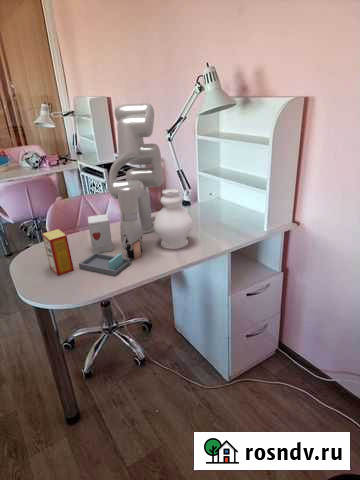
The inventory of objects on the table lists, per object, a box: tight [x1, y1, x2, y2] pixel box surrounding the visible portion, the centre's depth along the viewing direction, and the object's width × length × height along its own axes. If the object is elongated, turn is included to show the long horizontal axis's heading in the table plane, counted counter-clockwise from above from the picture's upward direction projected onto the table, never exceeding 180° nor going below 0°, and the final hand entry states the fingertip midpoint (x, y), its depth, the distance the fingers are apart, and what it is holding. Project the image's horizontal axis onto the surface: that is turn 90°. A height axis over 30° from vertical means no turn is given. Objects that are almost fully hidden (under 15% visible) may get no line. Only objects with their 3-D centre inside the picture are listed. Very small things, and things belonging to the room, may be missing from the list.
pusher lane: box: [78, 253, 131, 277], centre depth 138 cm, size 11×18×2 cm, turn 64°
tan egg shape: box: [128, 240, 143, 261], centre depth 144 cm, size 6×6×7 cm
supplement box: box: [87, 213, 114, 254], centre depth 152 cm, size 9×9×15 cm
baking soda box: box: [41, 228, 75, 277], centre depth 135 cm, size 10×6×16 cm
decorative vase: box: [153, 188, 194, 250], centre depth 150 cm, size 18×18×25 cm
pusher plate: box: [108, 252, 124, 270], centre depth 135 cm, size 8×1×4 cm, turn 154°
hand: (134, 254), depth 145 cm, fingers closed on tan egg shape, 5 cm apart
